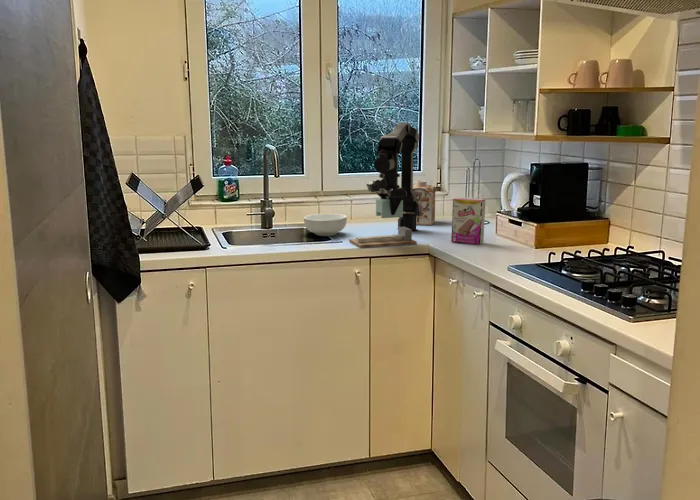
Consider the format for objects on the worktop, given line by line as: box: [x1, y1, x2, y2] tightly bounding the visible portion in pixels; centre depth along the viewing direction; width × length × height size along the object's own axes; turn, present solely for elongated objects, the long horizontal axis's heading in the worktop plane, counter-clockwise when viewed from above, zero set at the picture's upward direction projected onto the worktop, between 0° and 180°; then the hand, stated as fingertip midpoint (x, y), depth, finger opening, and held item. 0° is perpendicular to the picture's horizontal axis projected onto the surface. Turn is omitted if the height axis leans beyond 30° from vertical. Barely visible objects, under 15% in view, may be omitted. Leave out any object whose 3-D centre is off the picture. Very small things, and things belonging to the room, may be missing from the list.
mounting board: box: [348, 238, 418, 249], centre depth 263 cm, size 22×12×1 cm, turn 108°
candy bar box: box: [451, 196, 486, 246], centre depth 263 cm, size 11×5×16 cm, turn 65°
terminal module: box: [375, 198, 403, 219], centre depth 262 cm, size 8×6×6 cm
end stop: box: [397, 226, 413, 241], centre depth 266 cm, size 2×7×4 cm, turn 18°
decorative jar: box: [409, 180, 437, 226], centre depth 306 cm, size 12×12×18 cm
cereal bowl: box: [303, 213, 347, 237], centre depth 281 cm, size 17×17×7 cm
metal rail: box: [355, 234, 403, 243], centre depth 263 cm, size 20×3×2 cm, turn 108°
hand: (389, 213), depth 262 cm, fingers closed on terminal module, 6 cm apart
